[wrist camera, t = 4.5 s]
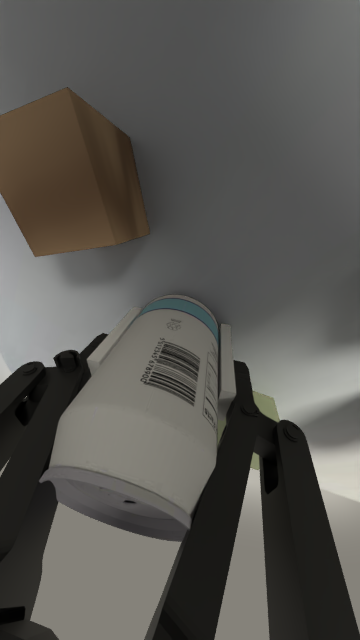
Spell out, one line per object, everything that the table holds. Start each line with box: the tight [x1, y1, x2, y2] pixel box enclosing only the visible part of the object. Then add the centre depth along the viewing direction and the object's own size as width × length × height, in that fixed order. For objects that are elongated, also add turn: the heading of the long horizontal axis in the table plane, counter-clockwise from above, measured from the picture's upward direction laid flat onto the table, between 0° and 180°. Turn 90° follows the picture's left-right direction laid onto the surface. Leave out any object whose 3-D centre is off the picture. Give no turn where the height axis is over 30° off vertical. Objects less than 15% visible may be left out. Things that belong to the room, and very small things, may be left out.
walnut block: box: [0, 87, 150, 257], centre depth 10 cm, size 5×5×5 cm
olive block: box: [217, 391, 280, 470], centre depth 18 cm, size 5×5×5 cm
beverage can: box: [39, 295, 219, 542], centre depth 11 cm, size 7×7×12 cm
